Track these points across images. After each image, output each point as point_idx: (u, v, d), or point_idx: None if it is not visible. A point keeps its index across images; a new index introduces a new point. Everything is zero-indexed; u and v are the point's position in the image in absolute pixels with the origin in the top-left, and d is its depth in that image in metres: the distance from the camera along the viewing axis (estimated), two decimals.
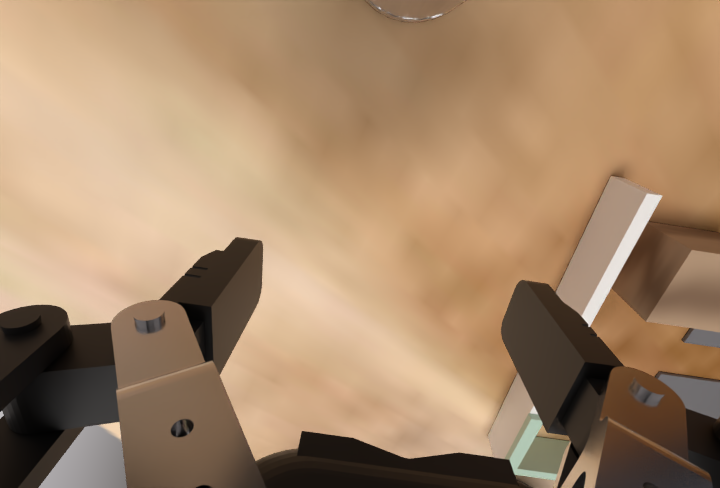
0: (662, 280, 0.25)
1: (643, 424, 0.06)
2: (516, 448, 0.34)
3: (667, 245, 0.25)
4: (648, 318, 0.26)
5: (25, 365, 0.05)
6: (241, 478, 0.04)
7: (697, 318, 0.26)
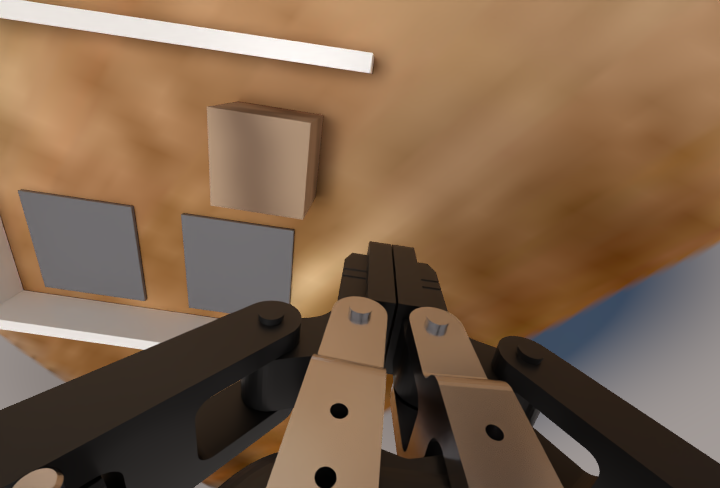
0: (265, 114, 0.21)
1: (449, 359, 0.07)
2: None
3: (306, 118, 0.22)
4: (211, 108, 0.21)
5: (257, 354, 0.06)
6: (361, 487, 0.04)
7: (223, 166, 0.22)
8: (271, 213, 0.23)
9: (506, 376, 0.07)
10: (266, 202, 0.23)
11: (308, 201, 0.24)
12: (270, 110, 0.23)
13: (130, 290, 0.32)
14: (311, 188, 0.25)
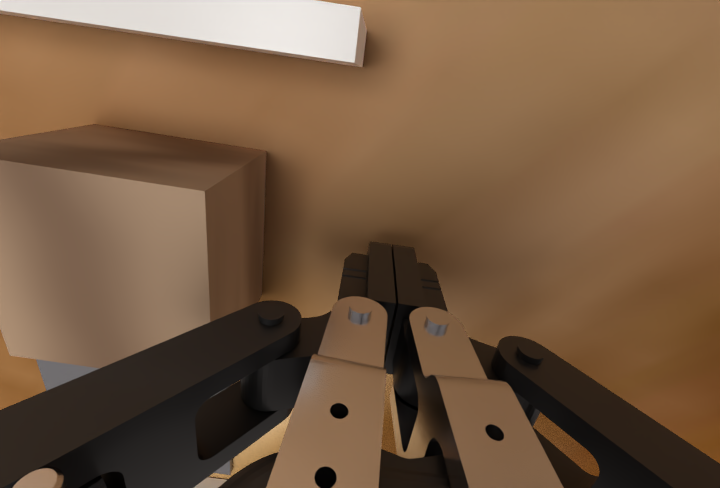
0: (100, 165, 0.09)
1: (449, 359, 0.07)
2: None
3: (213, 168, 0.10)
4: None
5: (257, 354, 0.06)
6: (360, 486, 0.04)
7: (16, 283, 0.09)
8: None
9: (506, 376, 0.07)
10: (127, 353, 0.10)
11: None
12: (140, 147, 0.11)
13: None
14: (241, 299, 0.12)
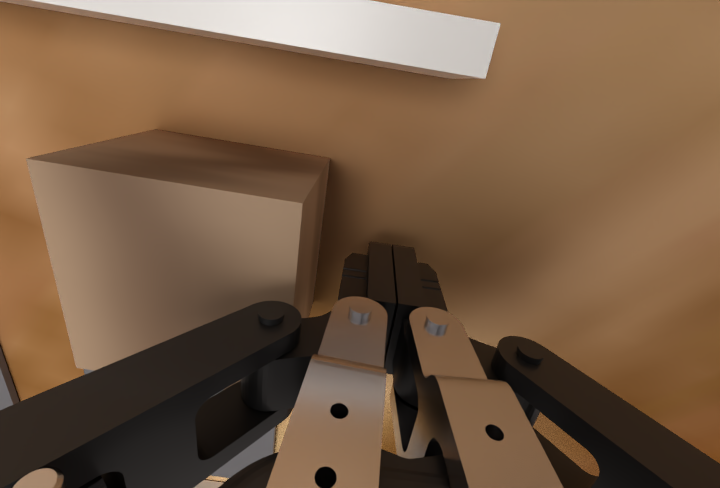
0: (188, 175, 0.08)
1: (449, 359, 0.07)
2: None
3: (293, 177, 0.09)
4: (40, 163, 0.08)
5: (258, 355, 0.06)
6: (361, 486, 0.04)
7: (93, 295, 0.09)
8: None
9: (506, 376, 0.07)
10: None
11: None
12: (213, 155, 0.10)
13: None
14: (304, 310, 0.12)
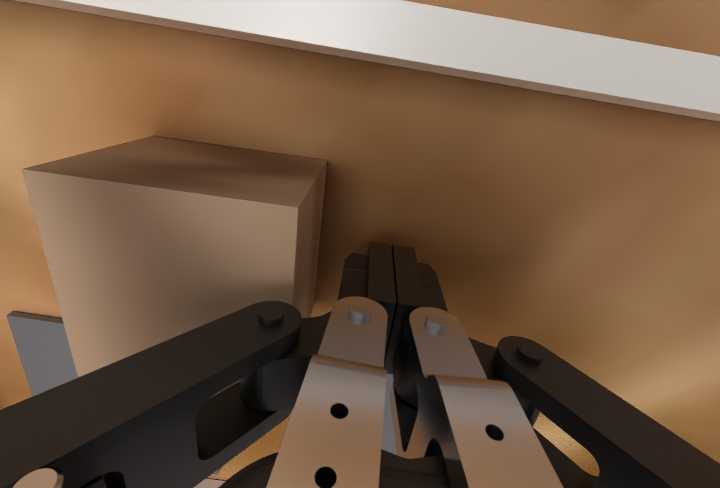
0: (183, 182, 0.08)
1: (449, 359, 0.07)
2: None
3: (290, 182, 0.09)
4: (36, 173, 0.08)
5: (257, 354, 0.06)
6: (360, 486, 0.04)
7: (92, 303, 0.09)
8: None
9: (506, 376, 0.07)
10: None
11: None
12: (209, 161, 0.10)
13: None
14: (304, 313, 0.12)
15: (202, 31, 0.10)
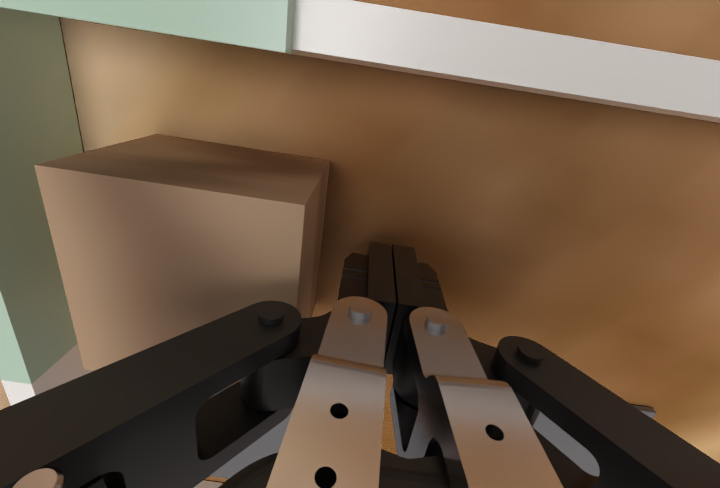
0: (192, 179, 0.09)
1: (449, 358, 0.07)
2: None
3: (295, 180, 0.10)
4: (47, 169, 0.08)
5: (258, 355, 0.06)
6: (360, 487, 0.04)
7: (100, 297, 0.09)
8: None
9: (506, 376, 0.07)
10: None
11: None
12: (216, 158, 0.10)
13: None
14: (307, 310, 0.12)
15: (440, 77, 0.10)
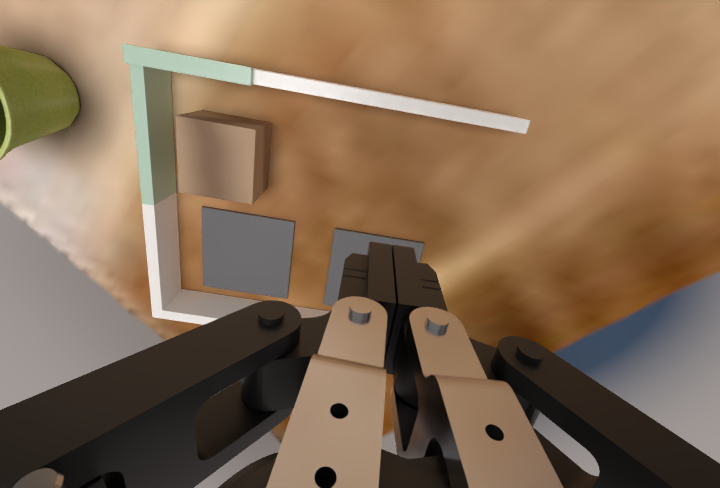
0: (221, 122, 0.27)
1: (449, 359, 0.07)
2: (191, 58, 0.25)
3: (254, 125, 0.29)
4: (179, 117, 0.27)
5: (258, 354, 0.06)
6: (361, 486, 0.04)
7: (188, 161, 0.28)
8: (227, 199, 0.29)
9: (506, 376, 0.07)
10: (222, 190, 0.29)
11: (257, 190, 0.31)
12: (227, 118, 0.29)
13: (276, 289, 0.38)
14: (261, 180, 0.31)
15: None
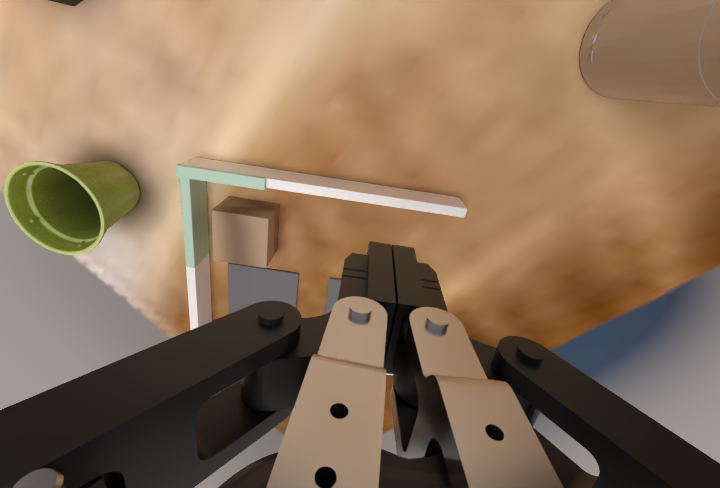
0: (244, 212, 0.38)
1: (449, 358, 0.07)
2: (223, 173, 0.36)
3: (267, 212, 0.39)
4: (214, 211, 0.38)
5: (258, 354, 0.06)
6: (360, 486, 0.04)
7: (220, 239, 0.39)
8: (248, 264, 0.40)
9: (506, 376, 0.07)
10: (244, 259, 0.40)
11: (270, 256, 0.41)
12: (247, 205, 0.40)
13: None
14: (272, 248, 0.42)
15: None
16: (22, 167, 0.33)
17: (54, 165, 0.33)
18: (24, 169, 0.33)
